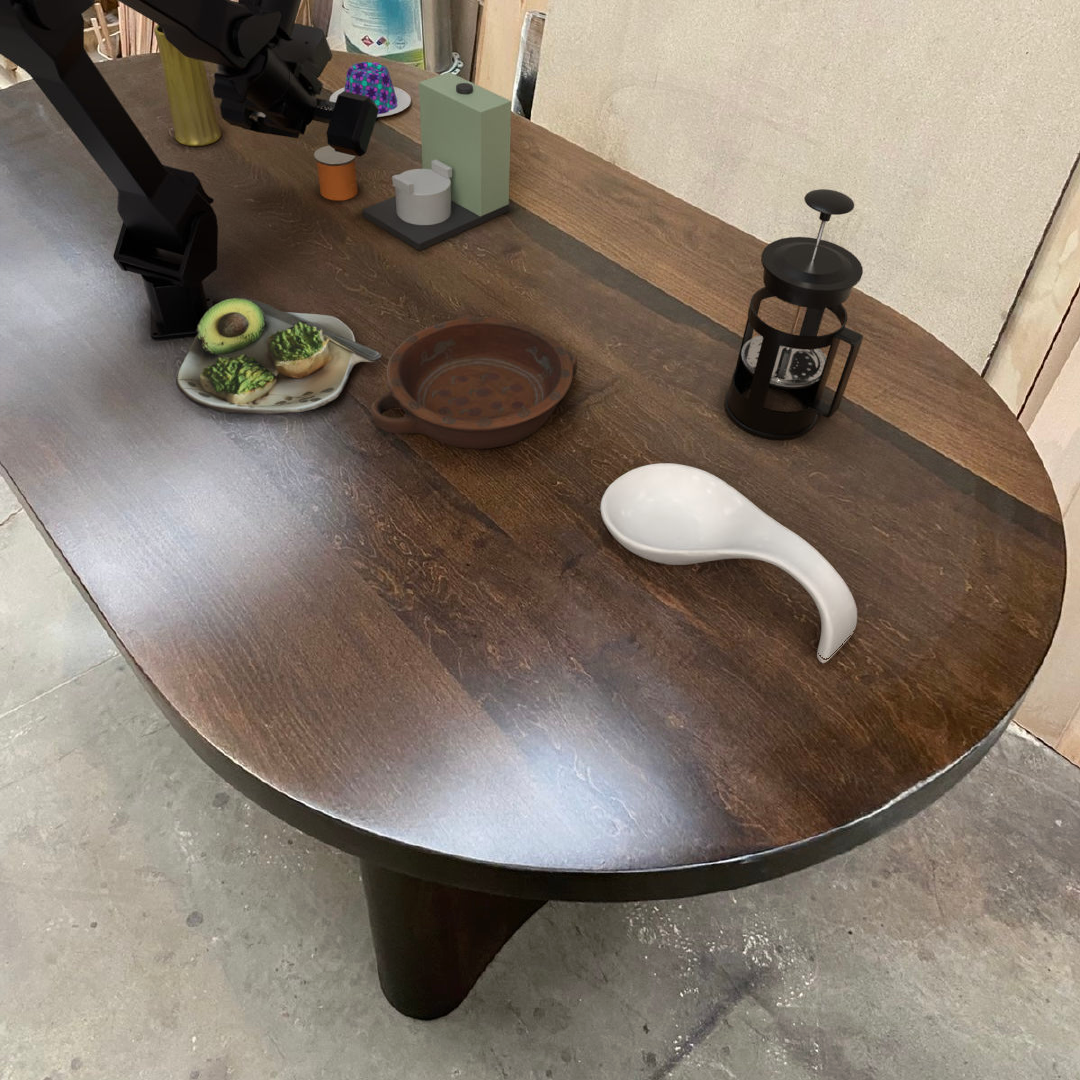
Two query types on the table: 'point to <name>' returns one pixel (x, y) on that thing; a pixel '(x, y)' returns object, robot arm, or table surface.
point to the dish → (475, 382)
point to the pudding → (375, 87)
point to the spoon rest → (720, 536)
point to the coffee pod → (336, 174)
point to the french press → (794, 360)
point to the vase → (188, 95)
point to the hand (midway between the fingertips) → (330, 141)
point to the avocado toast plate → (268, 359)
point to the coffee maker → (451, 165)
